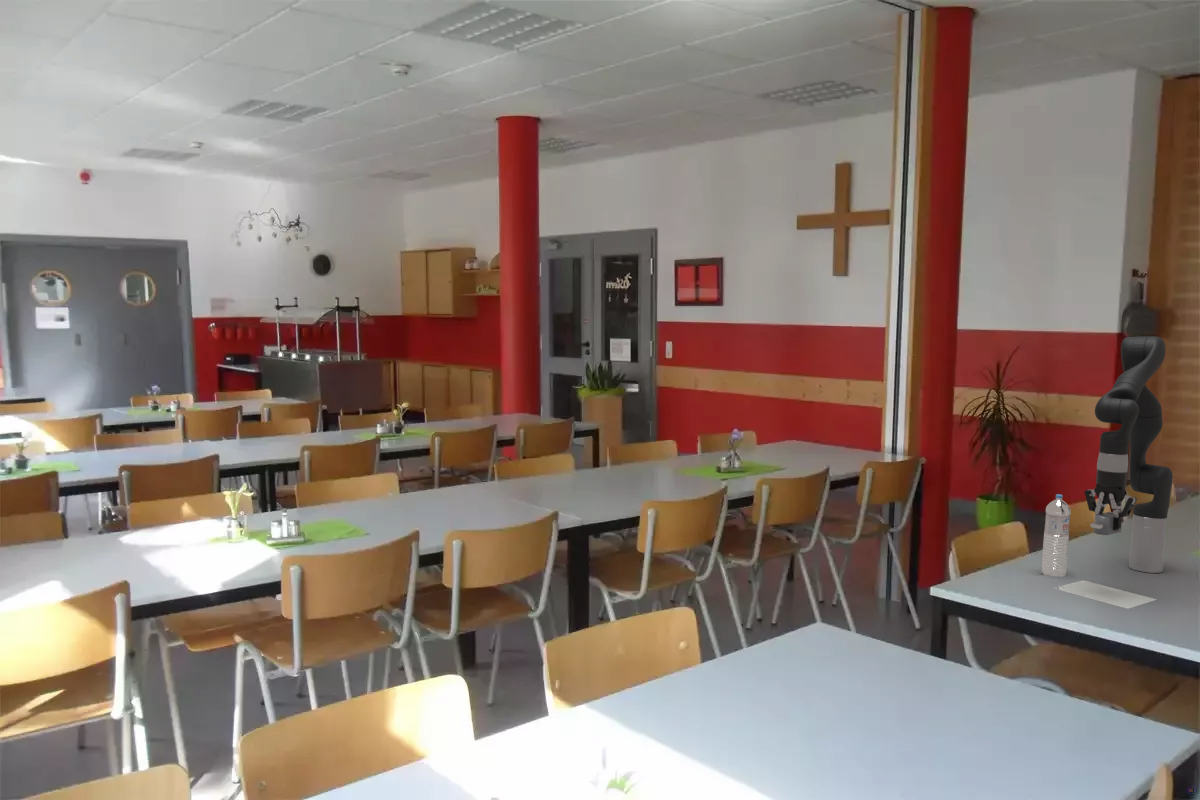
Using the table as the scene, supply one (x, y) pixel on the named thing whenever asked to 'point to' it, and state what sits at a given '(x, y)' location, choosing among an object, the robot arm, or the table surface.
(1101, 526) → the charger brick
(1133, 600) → the rubber mat
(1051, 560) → the water bottle
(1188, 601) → the table surface
